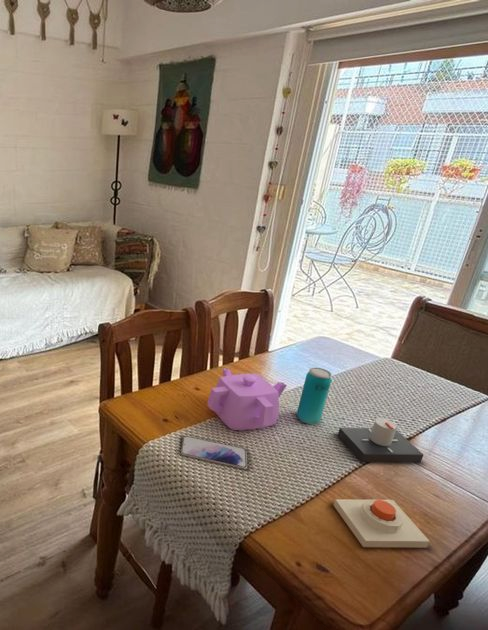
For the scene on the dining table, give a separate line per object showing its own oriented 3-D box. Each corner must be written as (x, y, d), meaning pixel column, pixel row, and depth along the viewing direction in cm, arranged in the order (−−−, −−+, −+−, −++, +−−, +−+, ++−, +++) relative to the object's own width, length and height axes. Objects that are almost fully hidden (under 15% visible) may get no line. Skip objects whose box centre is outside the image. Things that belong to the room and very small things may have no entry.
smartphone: (247, 468, 100) (180, 453, 105) (246, 471, 101) (180, 456, 105) (246, 448, 106) (183, 435, 111) (245, 451, 107) (182, 437, 111)
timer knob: (365, 434, 109) (371, 416, 107) (383, 434, 109) (389, 416, 107) (376, 446, 105) (383, 427, 103) (395, 446, 105) (401, 428, 103)
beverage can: (323, 427, 116) (337, 378, 111) (301, 426, 116) (314, 377, 111) (312, 414, 122) (325, 367, 116) (292, 414, 122) (303, 366, 116)
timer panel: (390, 437, 113) (394, 427, 111) (419, 464, 103) (424, 454, 102) (336, 437, 113) (339, 427, 111) (360, 464, 103) (364, 453, 102)
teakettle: (202, 422, 118) (208, 382, 113) (218, 393, 131) (225, 356, 126) (270, 444, 109) (280, 403, 105) (280, 411, 123) (289, 373, 118)
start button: (385, 506, 87) (387, 499, 86) (397, 521, 84) (400, 514, 83) (367, 506, 87) (369, 499, 86) (379, 521, 84) (381, 514, 83)
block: (389, 507, 91) (395, 493, 90) (426, 549, 82) (433, 534, 81) (332, 507, 91) (337, 492, 90) (362, 549, 82) (368, 533, 80)
